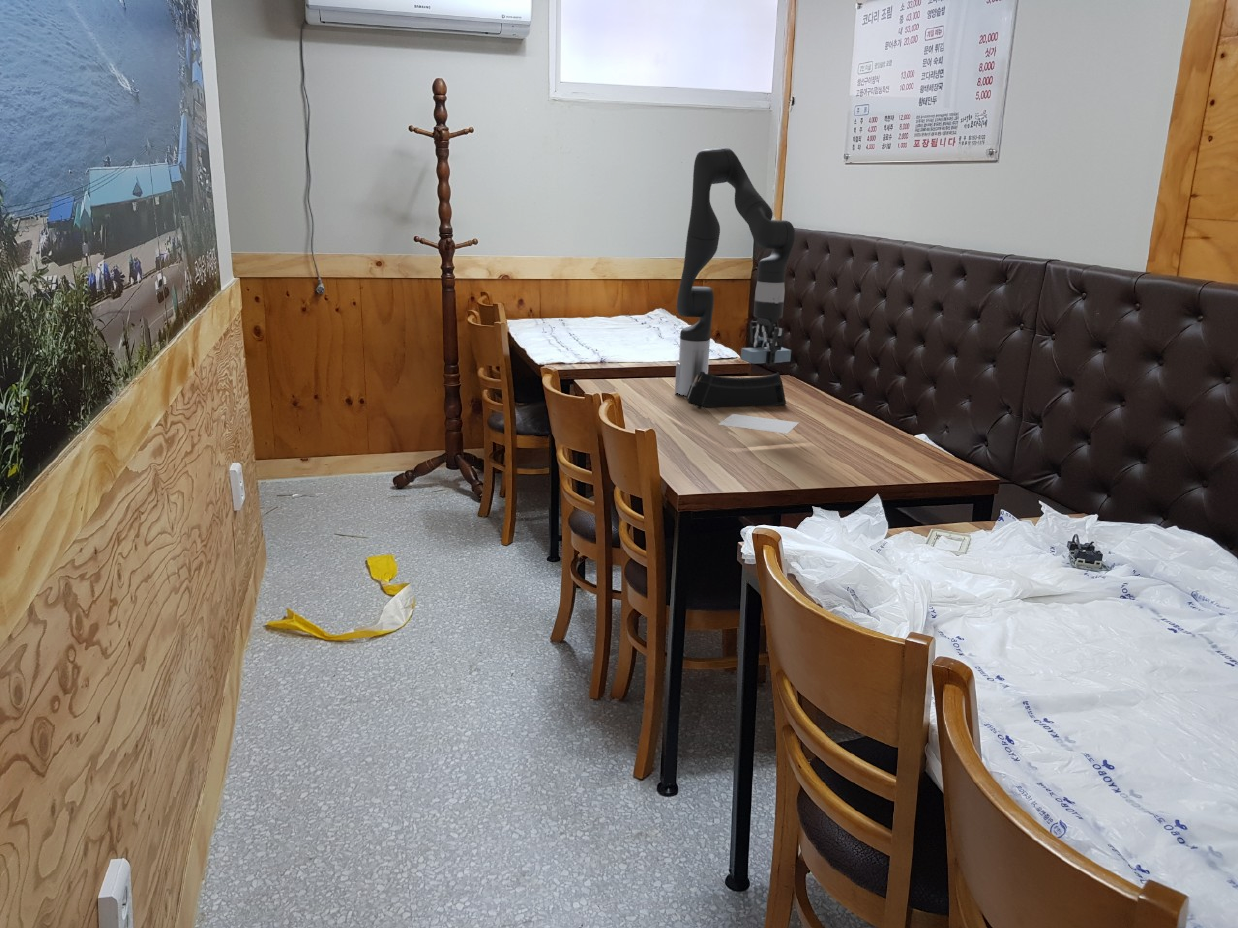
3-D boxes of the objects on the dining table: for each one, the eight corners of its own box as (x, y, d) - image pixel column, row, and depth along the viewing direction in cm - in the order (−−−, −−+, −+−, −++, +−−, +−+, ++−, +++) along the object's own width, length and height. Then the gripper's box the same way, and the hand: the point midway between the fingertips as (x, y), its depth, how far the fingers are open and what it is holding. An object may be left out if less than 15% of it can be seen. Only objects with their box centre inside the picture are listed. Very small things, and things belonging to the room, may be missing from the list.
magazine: (791, 376, 265) (702, 348, 255) (796, 378, 262) (706, 350, 252) (771, 430, 268) (683, 404, 259) (776, 432, 265) (686, 406, 256)
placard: (790, 362, 236) (750, 364, 231) (779, 358, 241) (740, 360, 236) (791, 350, 235) (751, 351, 231) (780, 346, 240) (741, 348, 235)
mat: (717, 427, 238) (717, 424, 238) (732, 416, 251) (732, 413, 250) (786, 436, 231) (787, 433, 231) (798, 425, 244) (799, 422, 243)
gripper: (743, 296, 236) (738, 359, 241) (771, 303, 223) (765, 369, 228) (767, 296, 239) (762, 358, 244) (796, 302, 226) (790, 368, 231)
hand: (764, 363), depth 236 cm, fingers closed on placard, 5 cm apart
